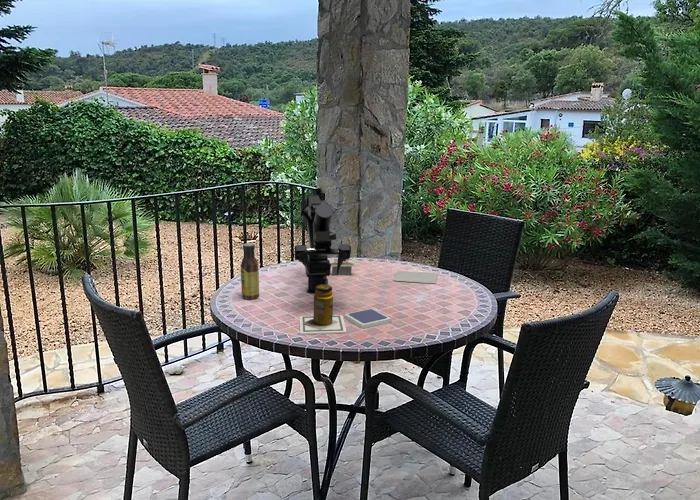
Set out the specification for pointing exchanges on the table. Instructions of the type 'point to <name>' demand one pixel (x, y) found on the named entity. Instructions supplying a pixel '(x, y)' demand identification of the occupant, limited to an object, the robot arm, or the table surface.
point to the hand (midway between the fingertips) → (323, 274)
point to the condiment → (322, 307)
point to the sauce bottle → (249, 273)
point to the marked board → (331, 329)
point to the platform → (342, 268)
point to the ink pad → (367, 318)
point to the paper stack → (415, 277)
